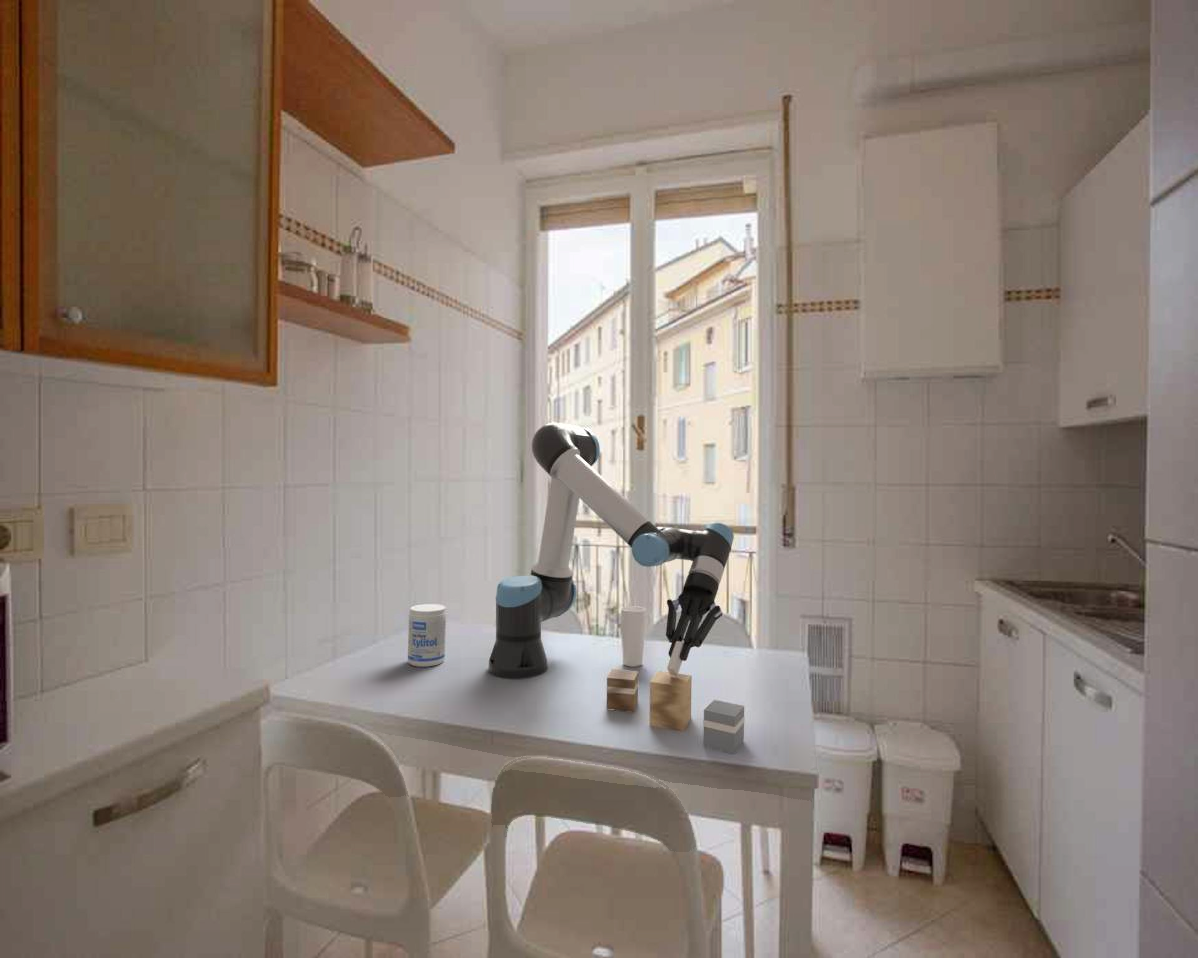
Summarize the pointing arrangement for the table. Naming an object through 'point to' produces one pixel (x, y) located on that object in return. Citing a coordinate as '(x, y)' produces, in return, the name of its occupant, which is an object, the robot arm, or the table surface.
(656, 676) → the oak block
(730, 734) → the grey block
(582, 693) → the table surface
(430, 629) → the supplement tub
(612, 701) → the walnut block
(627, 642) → the drinking glass
